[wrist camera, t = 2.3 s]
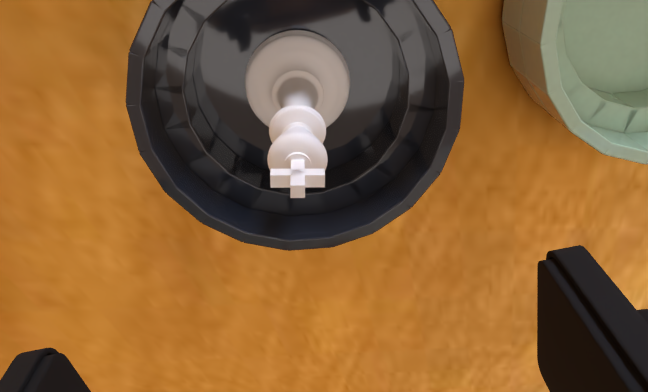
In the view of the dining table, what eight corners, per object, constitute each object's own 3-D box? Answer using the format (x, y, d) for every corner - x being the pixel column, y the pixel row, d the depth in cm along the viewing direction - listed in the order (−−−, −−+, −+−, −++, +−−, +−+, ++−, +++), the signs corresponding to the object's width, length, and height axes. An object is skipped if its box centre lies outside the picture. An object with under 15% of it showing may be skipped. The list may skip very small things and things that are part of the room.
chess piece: (347, 131, 25) (373, 256, 16) (248, 131, 24) (221, 258, 16) (352, 30, 22) (386, 114, 14) (241, 29, 22) (205, 113, 13)
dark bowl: (112, 123, 24) (77, 166, 20) (238, -152, 19) (223, -165, 15) (336, 236, 28) (342, 289, 25) (493, 36, 23) (533, 65, 19)
